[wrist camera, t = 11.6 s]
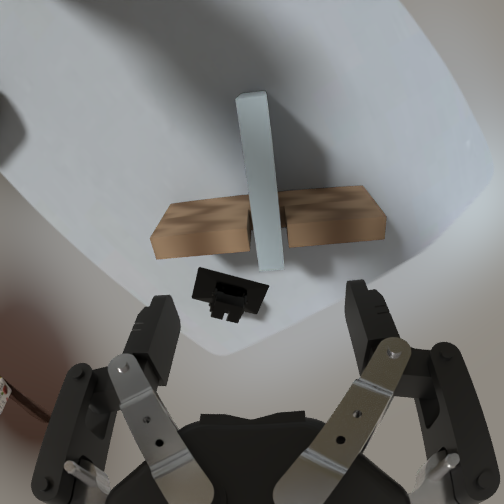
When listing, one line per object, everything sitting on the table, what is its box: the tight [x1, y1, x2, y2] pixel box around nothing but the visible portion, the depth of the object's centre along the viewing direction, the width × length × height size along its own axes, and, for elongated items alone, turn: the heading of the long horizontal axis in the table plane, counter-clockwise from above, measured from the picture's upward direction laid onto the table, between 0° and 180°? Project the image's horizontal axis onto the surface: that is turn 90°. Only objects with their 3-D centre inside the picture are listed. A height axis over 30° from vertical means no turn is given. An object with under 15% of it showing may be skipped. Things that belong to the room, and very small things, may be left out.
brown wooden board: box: [150, 186, 386, 259], centre depth 32 cm, size 22×2×8 cm, turn 97°
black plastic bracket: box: [192, 267, 269, 323], centre depth 41 cm, size 12×7×5 cm, turn 73°
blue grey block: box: [235, 91, 284, 272], centre depth 29 cm, size 16×2×8 cm, turn 7°
